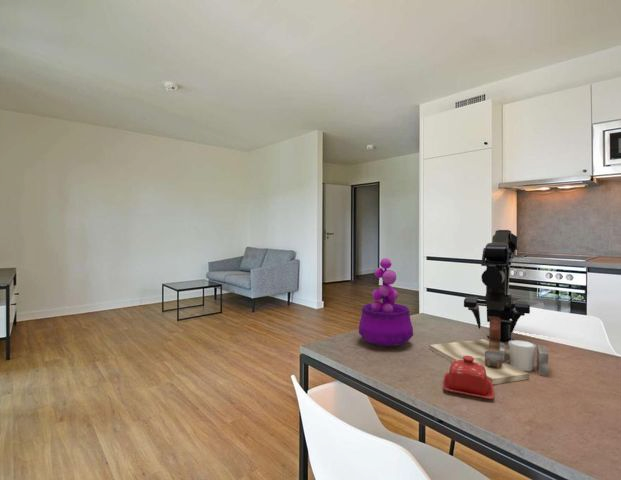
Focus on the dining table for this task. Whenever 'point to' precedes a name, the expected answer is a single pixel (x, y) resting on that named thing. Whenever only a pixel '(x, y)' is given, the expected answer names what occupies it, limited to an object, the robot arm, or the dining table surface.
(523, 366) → the white mug
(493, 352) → the lever
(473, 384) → the butter dish
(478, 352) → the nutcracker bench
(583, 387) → the dining table surface
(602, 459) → the dining table surface
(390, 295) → the decorative plant
